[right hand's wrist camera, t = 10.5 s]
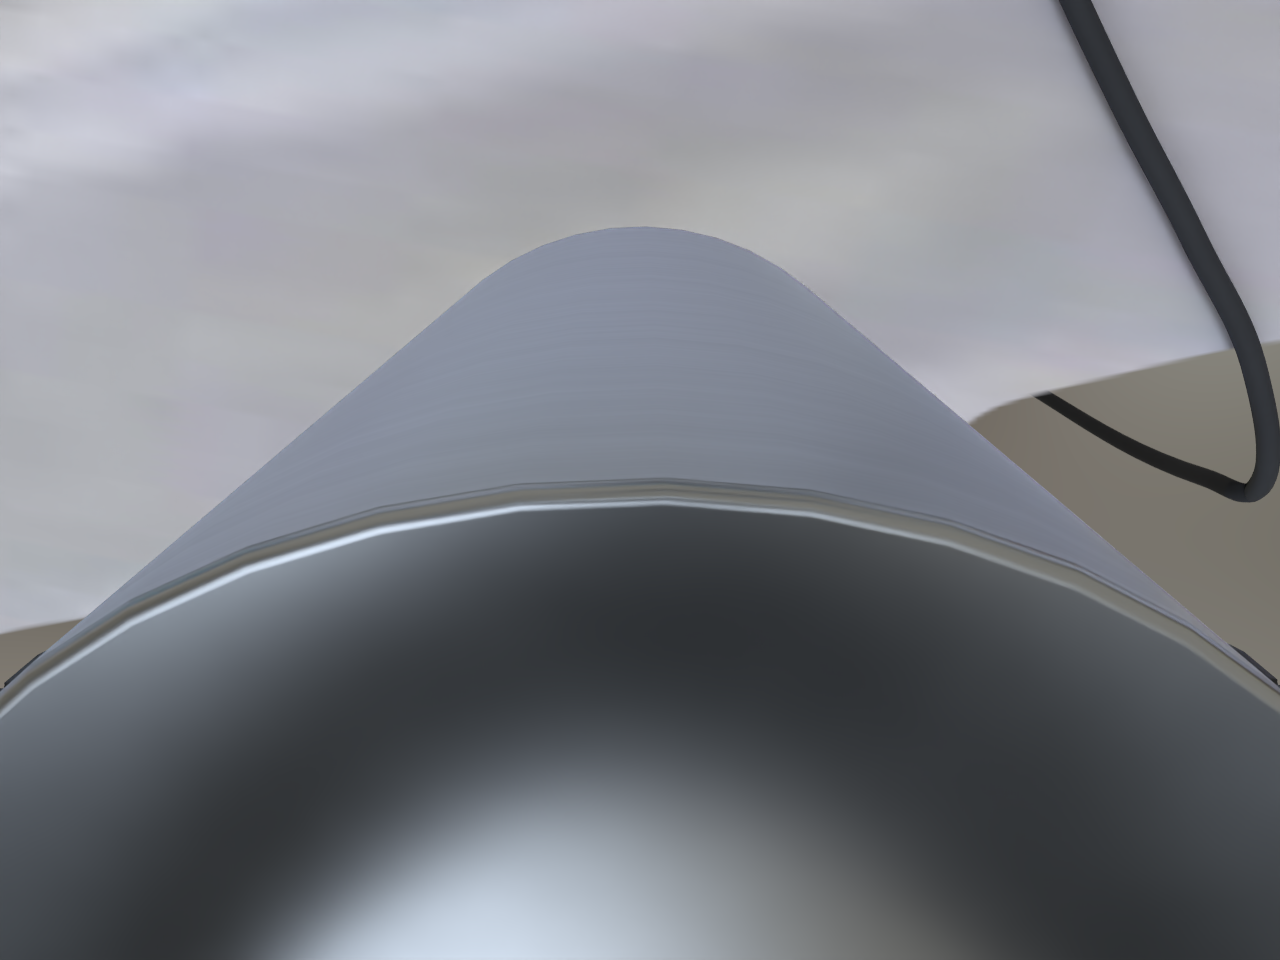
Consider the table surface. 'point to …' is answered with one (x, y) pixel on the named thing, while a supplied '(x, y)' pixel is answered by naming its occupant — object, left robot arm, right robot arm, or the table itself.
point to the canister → (640, 672)
